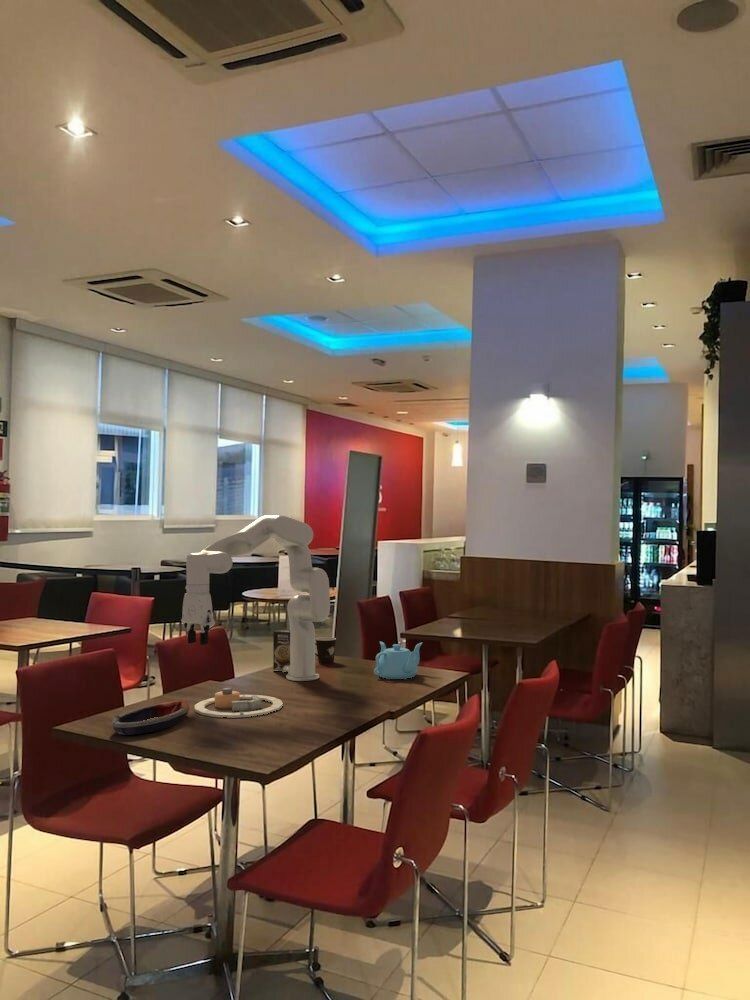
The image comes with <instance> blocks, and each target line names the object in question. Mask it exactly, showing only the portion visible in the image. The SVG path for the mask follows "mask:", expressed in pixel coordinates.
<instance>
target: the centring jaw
mask: <svg viewBox="0 0 750 1000" xmlns="http://www.w3.org/2000/svg"><path fill="white" fill-rule="evenodd" d="M251 695H252V699H250V700H249V699H245V700H240V701H232V708H231V712H232V711H233V712H232V713H235V712H234V711H239V712H241V711H243V712H251V711H253V710H254V711H257V710H256V709H258V710H260V709H259V708H261V709H262V700H261V699H258V698H257V695H258V694H251Z"/></svg>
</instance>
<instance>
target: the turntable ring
mask: <svg viewBox="0 0 750 1000" xmlns="http://www.w3.org/2000/svg"><path fill="white" fill-rule="evenodd" d="M252 695H253V694H240V700H252ZM256 695H257V698H258V699H261V701H263V700H265V701H264V702H267V701H268V703H270V702H271V703H270V704H272V705H270V706H269V707H265V708H263V709H262V708H261V709H258V710H254V711H239V712H224V711H223V712H221V711H215V710H209V709H207V708H206V707H207V706H208V705H212V704H215V697H211V698H207V699H203V700H201V701H199V702H198V703H196V704H194V712H195V713H197V714H200V715H201V716H206V717H212V718H223V717H227V719H235V718H236V719H237V718H252V717H257V715H258V716H263V714H264V715H269V714H271V713H270V712H272V713H273V711H275V712H277V711H276V710H278V711H279V710H280V709H281V708H283V707H284V703H283V701H282V699H279V698H277V697H273V696H270V695H269V696H268V695H262V694H256ZM282 706H283V707H282ZM268 713H269V714H268ZM251 716H252V717H251Z"/></svg>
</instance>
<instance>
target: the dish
mask: <svg viewBox="0 0 750 1000" xmlns="http://www.w3.org/2000/svg"><path fill="white" fill-rule="evenodd" d="M189 711H190V704H189V703H188V701H187V699H186V700H183V699H181V700H173V701H167V702H160V703H155V704H151V705H150V704H149V705H146V706H143V707H138V708H135V709H132V710H129V711H127V712H123V713H121V714H115V715H114V717H113V719H112V721H111V726H112V727H113V728H112V729H113V730H114V731H115V732H116V733H117V734H118V735H121V734H122V735H123V736H135V735H134V734H138V735H143V734H142V733H145V734H149V733H148V732H150V733H154V732H153V731H155V732H157V730H158V731H161V729H162V730H164V728H165V729H167V728H171V727H173V726H175V725H177V724H179V723H181V722H182V721H184V720H185V719H186V717H187V716H188V713H189ZM154 717H158V718H154ZM150 718H154V719H150ZM147 719H150V720H147ZM143 720H145V721H143ZM170 726H171V727H170Z"/></svg>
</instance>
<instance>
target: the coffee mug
mask: <svg viewBox="0 0 750 1000" xmlns="http://www.w3.org/2000/svg"><path fill="white" fill-rule="evenodd" d="M336 644H337V638H336V637H331V636H329V637H327V636H326V637H315V646H316V652H317V653H316V652H315V657H316V656H317V661H318V664H320V663H322V664H321V665H330V664H329V663H332V664H334V661H335V654H336Z"/></svg>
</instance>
